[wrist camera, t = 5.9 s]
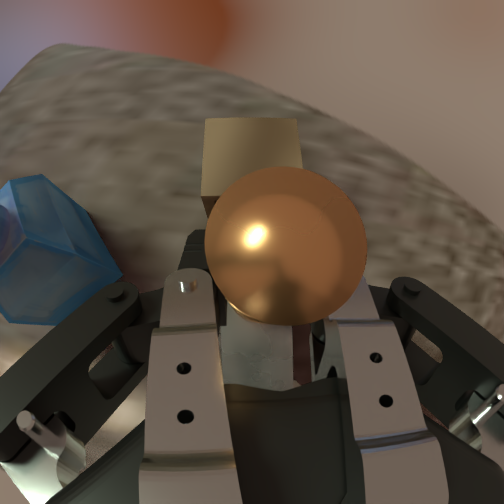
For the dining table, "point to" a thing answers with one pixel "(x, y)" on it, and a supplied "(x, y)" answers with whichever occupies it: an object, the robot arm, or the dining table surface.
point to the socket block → (245, 151)
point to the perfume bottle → (47, 253)
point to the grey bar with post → (280, 266)
